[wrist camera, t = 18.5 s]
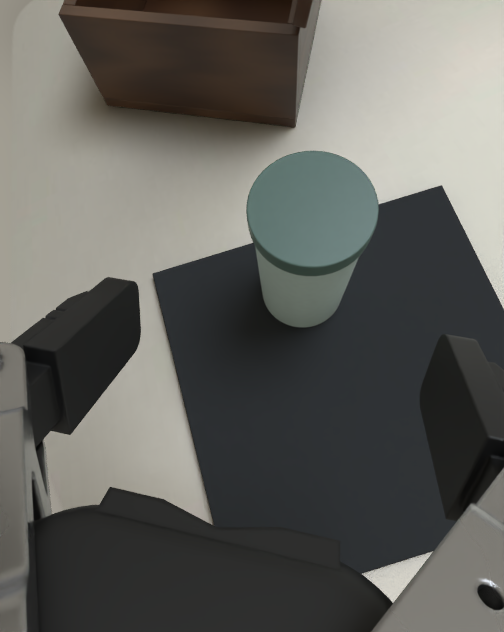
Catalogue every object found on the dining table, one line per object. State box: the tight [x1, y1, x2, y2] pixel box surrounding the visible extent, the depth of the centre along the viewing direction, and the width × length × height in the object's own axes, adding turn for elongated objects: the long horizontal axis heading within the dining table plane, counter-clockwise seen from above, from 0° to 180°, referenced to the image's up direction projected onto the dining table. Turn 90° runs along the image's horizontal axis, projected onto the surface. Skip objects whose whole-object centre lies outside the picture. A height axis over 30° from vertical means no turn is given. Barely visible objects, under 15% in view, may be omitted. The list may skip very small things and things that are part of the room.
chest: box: [59, 0, 321, 127], centre depth 29 cm, size 15×13×7 cm
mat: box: [153, 186, 504, 574], centre depth 25 cm, size 20×20×1 cm
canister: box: [246, 151, 379, 327], centre depth 22 cm, size 5×5×10 cm
